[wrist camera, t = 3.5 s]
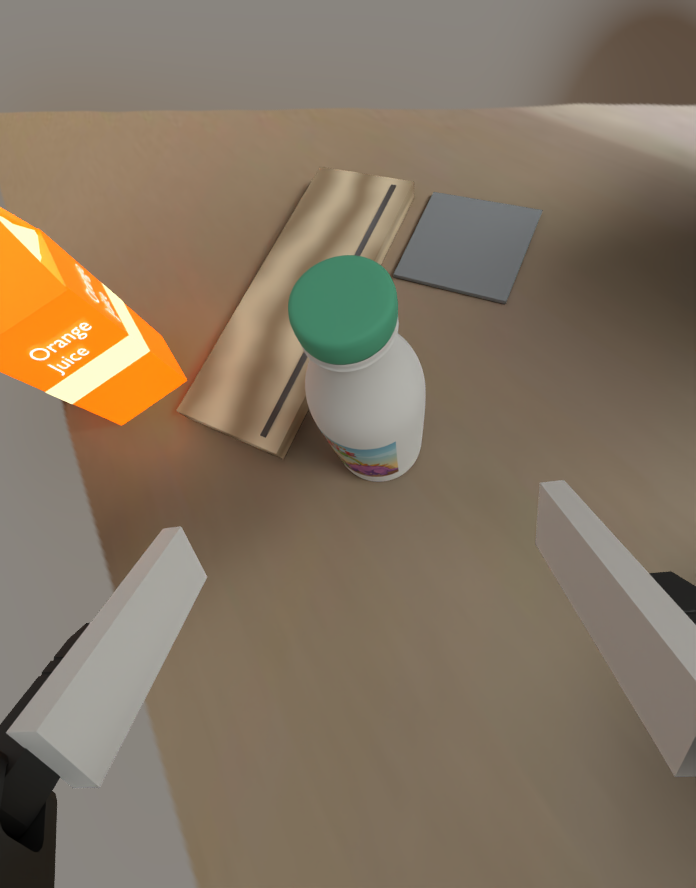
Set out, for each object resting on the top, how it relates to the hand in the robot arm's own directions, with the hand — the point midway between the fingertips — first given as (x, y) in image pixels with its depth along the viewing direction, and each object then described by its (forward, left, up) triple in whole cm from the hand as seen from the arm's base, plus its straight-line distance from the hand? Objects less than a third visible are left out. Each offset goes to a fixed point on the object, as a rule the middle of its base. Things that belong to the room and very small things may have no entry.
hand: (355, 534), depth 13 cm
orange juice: (+32, -5, -18) cm, 37 cm away
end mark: (+4, -32, -18) cm, 37 cm away
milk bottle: (+4, -8, -18) cm, 21 cm away
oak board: (+18, -20, -18) cm, 33 cm away
